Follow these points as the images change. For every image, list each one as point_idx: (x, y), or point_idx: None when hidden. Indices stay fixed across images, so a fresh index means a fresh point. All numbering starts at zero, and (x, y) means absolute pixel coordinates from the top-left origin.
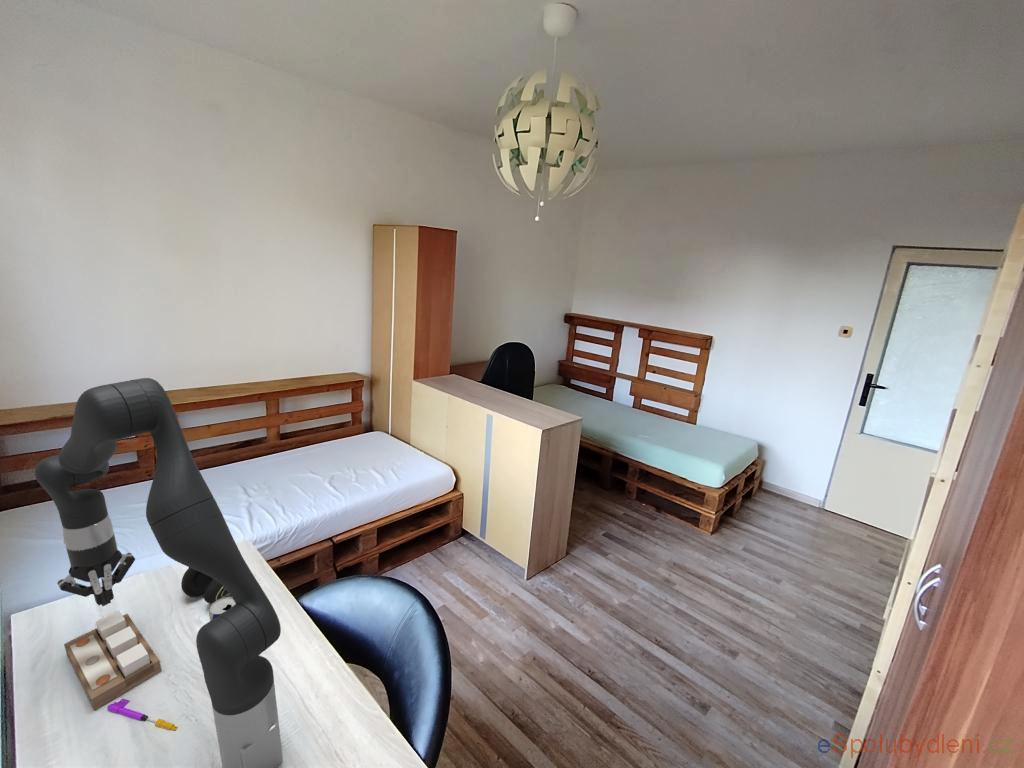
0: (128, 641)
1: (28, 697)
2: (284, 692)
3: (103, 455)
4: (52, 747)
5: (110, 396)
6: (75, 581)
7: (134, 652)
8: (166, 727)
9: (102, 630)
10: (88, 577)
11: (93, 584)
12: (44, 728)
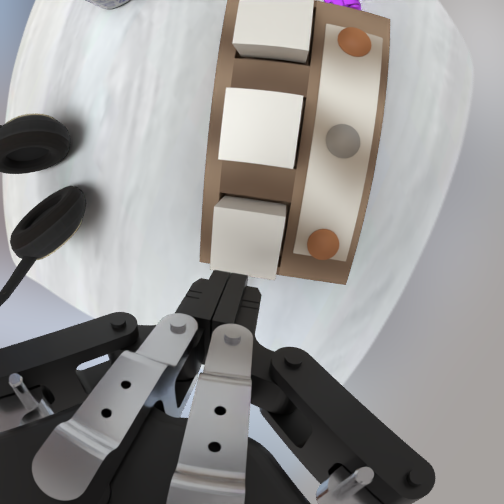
0: (252, 90)
1: (432, 205)
2: None
3: None
4: (446, 35)
5: None
6: (328, 491)
7: (265, 18)
8: None
9: (281, 217)
10: (244, 484)
11: (240, 400)
12: (446, 88)
